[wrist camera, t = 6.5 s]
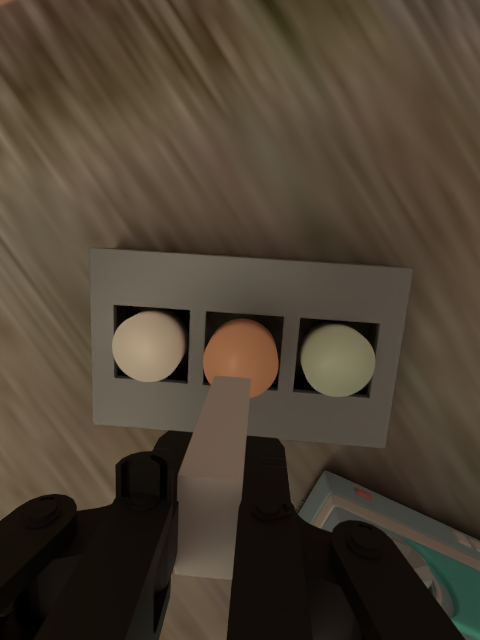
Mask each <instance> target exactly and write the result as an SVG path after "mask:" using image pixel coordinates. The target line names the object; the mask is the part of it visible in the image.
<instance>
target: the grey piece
mask: <svg viewBox="0 0 480 640" xmlns="http://www.w3.org/2000/svg"><path fill="white" fill-rule="evenodd" d="M89 255H90V302H91V348H92V395H93V424H98V425H110V426H122V427H134V428H146V429H158V430H174V431H186V432H194V430H195V427H196V424H197V421H198V419H199V416H200V413H201V410H202V408H203V405H204V402H205V400H206V397H207V394H208V391H209V389H210V386H211V384H210V383H208V382H204V369H203V356H204V352H205V342H206V320H207V311H212V312H226V313H240V314H254V315H268V316H283V317H284V318H283V330H282V341H281V352H280V364H279V375H278V386H277V388H272V387H269V388H268V389H267V390H266V391H265V392H263V393H262V394H260V395H258V396H256V397H253V398H249V412H248V427H247V436H259V437H271V438H277V439H278V440H290V441H302V442H314V443H326V444H338V445H350V446H362V447H374V448H385V446H386V440H387V434H388V427H389V421H390V414H391V408H392V402H393V395H394V389H395V383H396V376H397V370H398V364H399V357H400V351H401V345H402V338H403V332H404V325H405V319H406V313H407V306H408V300H409V294H410V287H411V281H412V275H413V269H412V268H404V267H396V266H388V265H372V264H357V263H341V262H325V261H310V260H294V259H279V258H263V257H247V256H232V255H216V254H201V253H185V252H170V251H154V250H138V249H123V248H89ZM125 305H126V306H140V307H155V308H169V309H183V310H190V332H189V361H188V381H182V380H169V379H162V380H160V381H156V382H142V381H138V380H135V379H133V378H131V377H129V376H126V374H125V373H124V372H123V371H122V370H121V369H120V368H119V366H118V365H117V363H116V361H115V359H114V356H113V352H112V341H113V337H114V334H115V332H116V330H117V328H118V327H119V326H120V325H121V324H122V323H123V322H124V321H125ZM300 318H311V319H325V320H340V321H354V322H368V323H370V329H369V336H368V342H369V343H370V345H371V346H372V348H373V351H374V354H375V369H374V372H373V375H372V377H371V379H370V380H369V382H368V383H367V384H366V385H365V386H364V387H363V388H362V389H361V394H352V395H349V396H344V397H332V396H327V395H324V394H322V393H320V392H318V391H310V390H298V389H293V386H294V376H295V366H296V355H297V345H298V335H299V325H300Z"/></svg>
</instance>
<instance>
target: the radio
mask: <svg viewBox="0 0 480 640" xmlns="http://www.w3.org/2000/svg"><path fill="white" fill-rule="evenodd" d="M298 515H299V516H300V517H301V518H302V519H303V520H305V521H306V522H308V523H309V524H311V525H314V526H316V527H318V528H321V529H324V530H327V531H329V532H332V531H333V528H334V527H335V526H336V525H337V524H338V523H340V522H343V521H347V520H357V521H363V522H366V523H369V524H372V525H374V526H375V527H377V528H379V529H380V530H382V531H384V532H385V533H386V534H387V535H388V536H389V537H390V538H391V539H392V540H393V542H394V543H395V544H396V546H397V547H398V548H399V550H400V551H401V552H402V554H403V555H404V557H405V558H406V559H407V561H408V562H409V563H410V565H411V566H412V567H413V569H414V570H415V572H416V573H417V574H418V576H419V577H420V578H421V580H422V581H423V582H424V584H425V585H426V586H427V588H428V589H429V591H430V592H431V593H432V595H433V596H434V597H435V599H436V600H437V601H438V603H439V604H440V606H441V607H442V608H443V610H444V611H445V612H446V614H447V615H448V616H449V618H450V619H451V621H452V622H453V623H454V625H455V626H456V627H457V629H458V630H459V631H460V633H461V634H462V635H463V637H464V638H465V640H480V540H477V539H475V538H473V537H471V536H469V535H467V534H464V533H462V532H460V531H458V530H456V529H454V528H451V527H449V526H447V525H445V524H443V523H440V522H438V521H436V520H434V519H432V518H430V517H427V516H425V515H423V514H421V513H419V512H417V511H414V510H412V509H410V508H408V507H406V506H404V505H401V504H399V503H397V502H395V501H393V500H390V499H388V498H386V497H384V496H382V495H380V494H377V493H375V492H373V491H371V490H369V489H367V488H364V487H362V486H360V485H358V484H356V483H354V482H351V481H349V480H347V479H345V478H343V477H340V476H338V475H336V474H334V473H331V472H329V471H324V472H323V473H322V475H321V476H320V478H319V479H318V481H317V483H316V484H315V486H314V488H313V490H312V491H311V493H310V495H309V496H308V498H307V500H306V501H305V503H304V505H303V506H302V508H301V510H300V512H299V513H298Z"/></svg>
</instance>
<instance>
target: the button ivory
mask: <svg viewBox="0 0 480 640" xmlns="http://www.w3.org/2000/svg"><path fill="white" fill-rule="evenodd" d="M188 345H189V336H188V332H187V329H186V327H185V325H184V323H183V322H182V320H181V319H180V318H179V317H178V316H177V315H175V314H174V313H172V312H170V311H168V310H165V309H161V308H151V309H146V310H144V311H142V312H140V313H138V314H136V315H134V316H132V317H130V318H129V319H127V320H125V321H124V322H123V323H122V324H121V325H120V326H119V327H118V328H117V330H116V332H115V334H114V337H113V341H112V352H113V356H114V359H115V361H116V363H117V365H118V366H119V368H120V369H121V370H122V371H123V372H124V373H125V374H127V375H128V376H129V377H131V378H133V379H135V380H138V381H142V382H156V381H160V380H162V379H164V378H166V377H168V376H169V375H170V374H171V373H172V372H173V371H174V370H175V369H176V367H177V366H178V364H179V363H180V362H181V360H182V359H183V357H184V356H185V354H186V352H187V349H188Z"/></svg>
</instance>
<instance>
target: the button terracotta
mask: <svg viewBox="0 0 480 640" xmlns="http://www.w3.org/2000/svg"><path fill="white" fill-rule="evenodd" d="M203 369H204V373H205V376H206V378H207V380H208V381H209V383H210V384H211V383H212V381H213V378H214V375H215V376H228V377H241V378H251V383H250V398H253V397H256V396H258V395H260V394H262V393H263V392H265V391H266V390H267V389H268V388H269V387H270V386H271V385H272V383H273V382H274V380H275V378H276V375H277V372H278V355H277V349H276V344H275V341H274V338H273V336H272V335H271V333H270V332H269V330H268V329H267V328H266V327H265V326H263V325H262V324H260V323H259V322H256V321H254V320H251V319H245V318H240V319H234V320H230V321H228V322H226V323H224V324H223V325H221V326H220V327H219V328H218V329H217V330H216V331H215V332H214V334H213V336H212V338H211V339H210V341H209V343H208V345H207V347H206V349H205V352H204V356H203Z"/></svg>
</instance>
